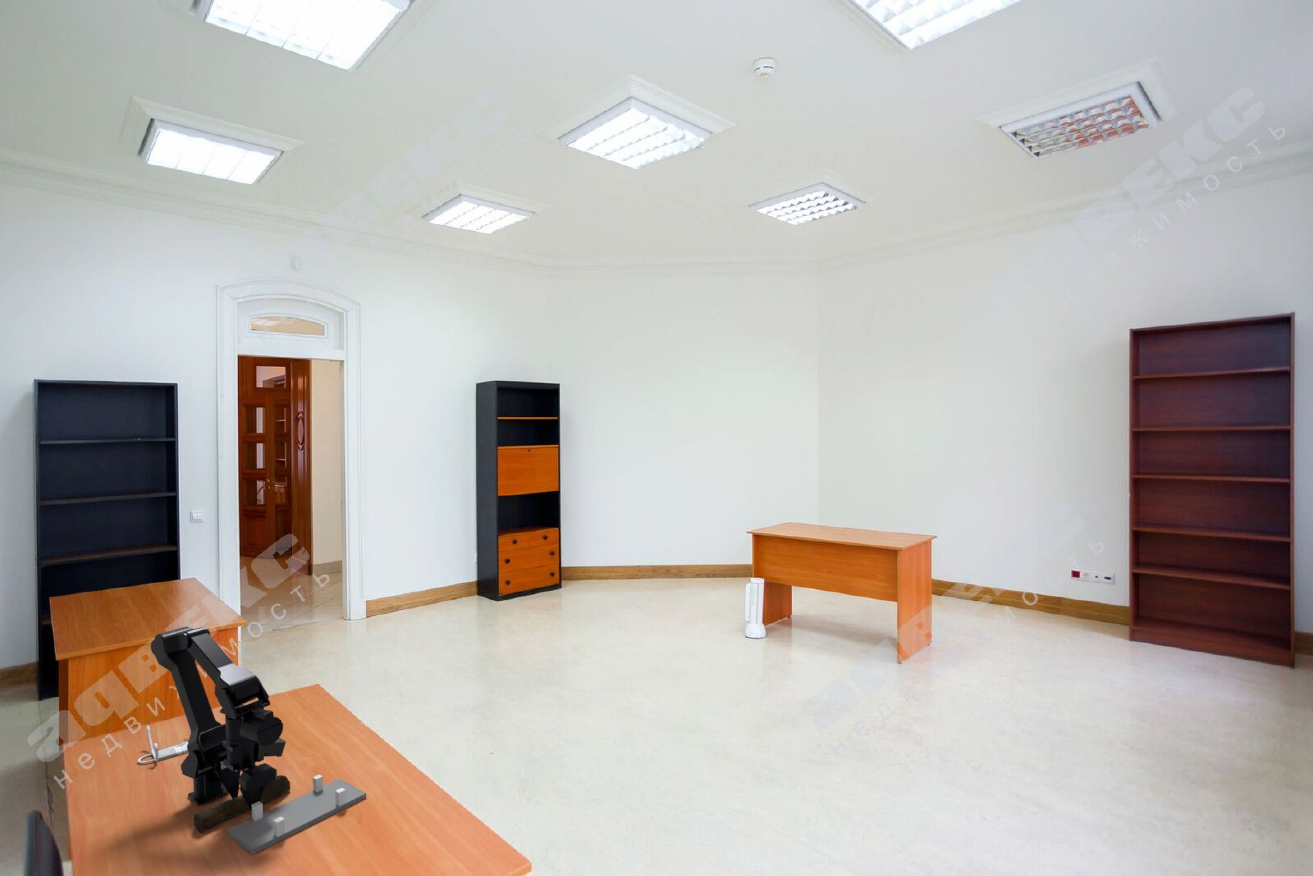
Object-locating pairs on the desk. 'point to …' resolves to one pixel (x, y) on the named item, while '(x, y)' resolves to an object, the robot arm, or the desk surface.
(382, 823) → the desk surface
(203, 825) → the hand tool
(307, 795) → the plate
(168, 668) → the robot arm
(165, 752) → the wall mount rack
